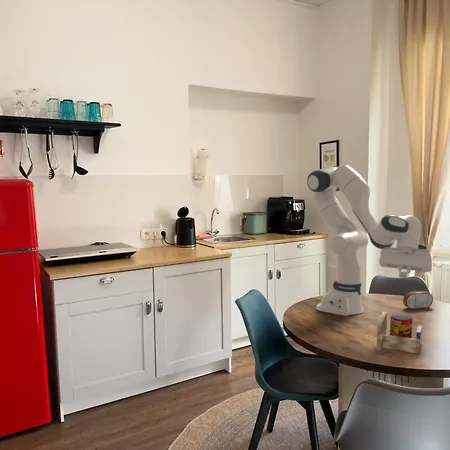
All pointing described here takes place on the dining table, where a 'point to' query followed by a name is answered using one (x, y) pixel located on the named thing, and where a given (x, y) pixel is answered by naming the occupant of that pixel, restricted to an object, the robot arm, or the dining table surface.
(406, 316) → the canned food
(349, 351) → the dining table surface
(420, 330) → the bookend
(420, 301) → the tin
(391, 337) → the shelf wall
